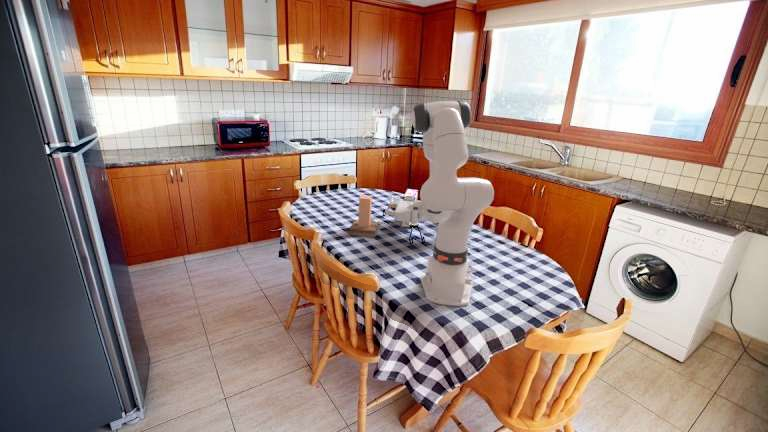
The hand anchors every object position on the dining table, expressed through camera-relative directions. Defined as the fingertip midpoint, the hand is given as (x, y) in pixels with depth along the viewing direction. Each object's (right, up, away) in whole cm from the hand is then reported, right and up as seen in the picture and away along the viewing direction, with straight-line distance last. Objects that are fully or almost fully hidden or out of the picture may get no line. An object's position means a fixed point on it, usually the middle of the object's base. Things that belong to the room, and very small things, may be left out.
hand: (386, 208), depth 175 cm
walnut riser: (-11, -11, +5) cm, 16 cm away
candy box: (+11, -7, +19) cm, 23 cm away
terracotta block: (-10, -8, +4) cm, 14 cm away
